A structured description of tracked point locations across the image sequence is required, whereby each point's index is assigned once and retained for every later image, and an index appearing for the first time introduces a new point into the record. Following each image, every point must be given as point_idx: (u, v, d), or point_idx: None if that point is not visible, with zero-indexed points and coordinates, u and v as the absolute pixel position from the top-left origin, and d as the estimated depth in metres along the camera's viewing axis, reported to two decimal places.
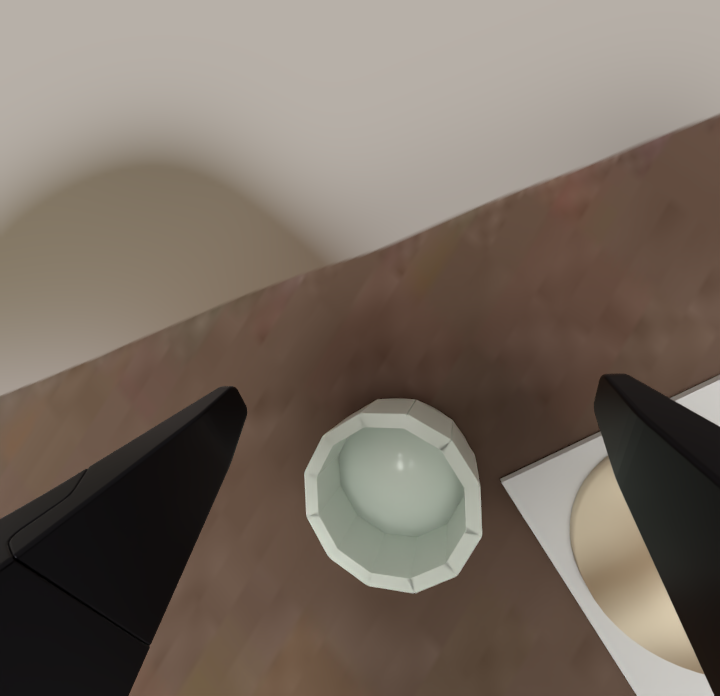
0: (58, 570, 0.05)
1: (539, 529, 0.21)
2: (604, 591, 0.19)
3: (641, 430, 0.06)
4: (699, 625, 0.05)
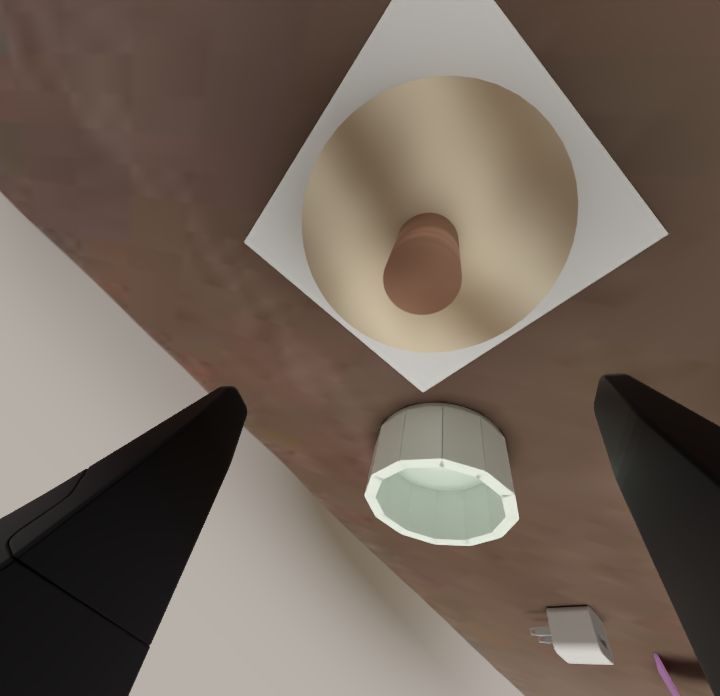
0: (58, 570, 0.05)
1: (457, 363, 0.21)
2: (499, 321, 0.18)
3: (641, 430, 0.06)
4: (699, 625, 0.05)
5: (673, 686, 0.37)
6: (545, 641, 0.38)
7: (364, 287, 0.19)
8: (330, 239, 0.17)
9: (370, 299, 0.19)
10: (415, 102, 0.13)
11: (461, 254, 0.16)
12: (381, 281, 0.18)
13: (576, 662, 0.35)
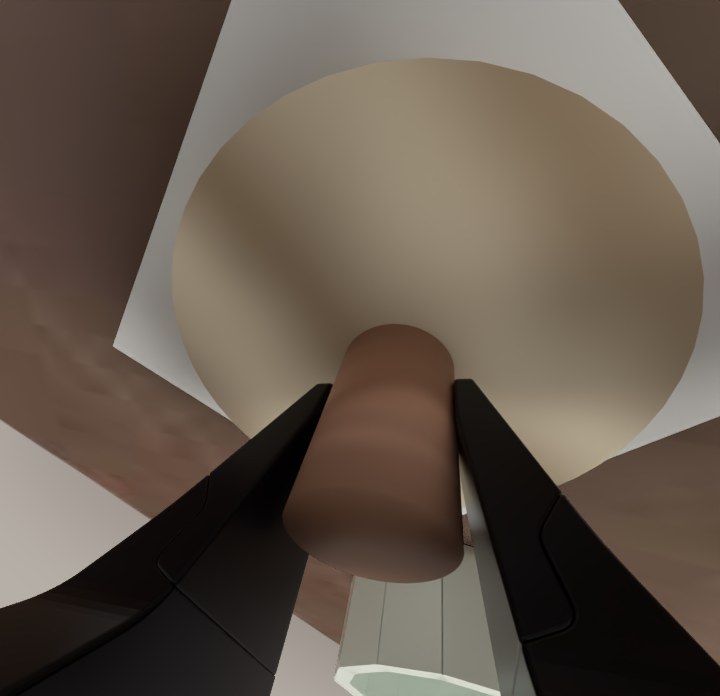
0: (208, 596, 0.05)
1: None
2: None
3: (457, 429, 0.06)
4: (484, 596, 0.06)
5: None
6: None
7: None
8: (231, 357, 0.10)
9: None
10: (344, 122, 0.06)
11: None
12: None
13: None
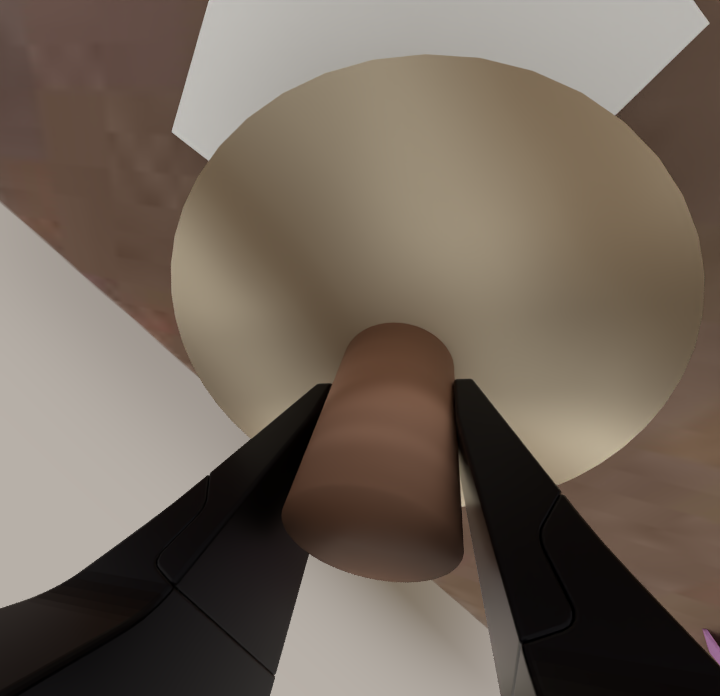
0: (208, 596, 0.05)
1: None
2: None
3: (457, 429, 0.06)
4: (484, 596, 0.06)
5: None
6: None
7: None
8: (231, 356, 0.10)
9: None
10: (344, 120, 0.06)
11: None
12: None
13: None
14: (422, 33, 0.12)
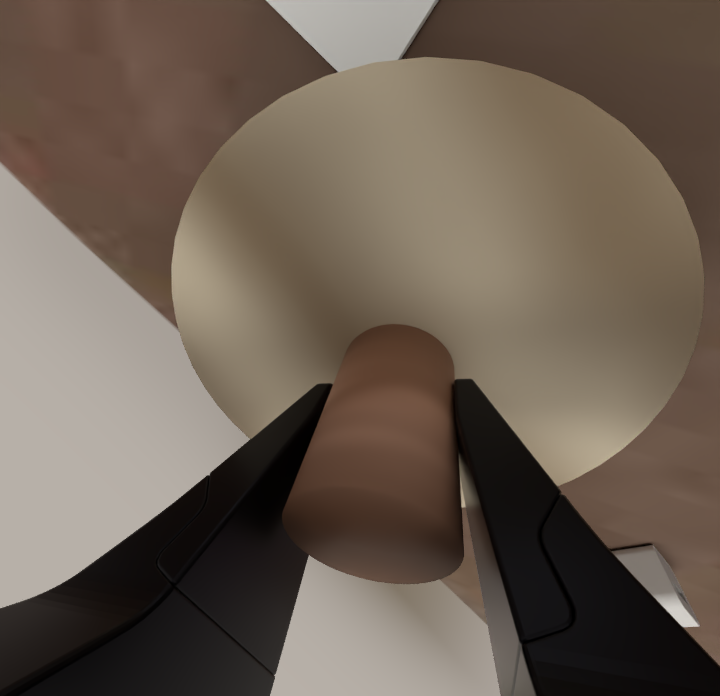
0: (208, 596, 0.05)
1: None
2: None
3: (457, 429, 0.06)
4: (484, 596, 0.06)
5: None
6: None
7: None
8: (231, 357, 0.10)
9: None
10: (344, 122, 0.06)
11: None
12: None
13: None
14: None
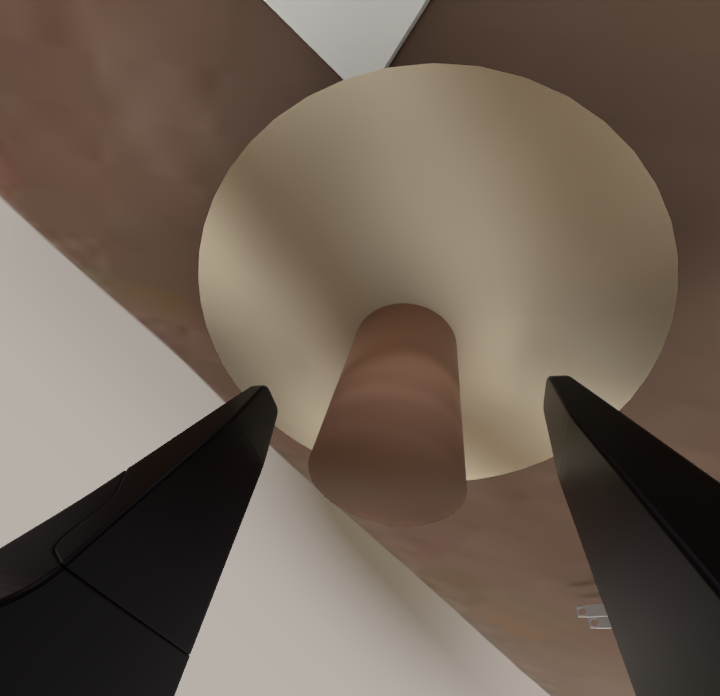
0: (105, 578, 0.05)
1: None
2: (527, 451, 0.11)
3: (572, 430, 0.06)
4: (618, 614, 0.05)
5: None
6: (600, 626, 0.26)
7: (314, 400, 0.12)
8: (250, 338, 0.11)
9: (324, 416, 0.12)
10: (360, 119, 0.07)
11: (462, 363, 0.10)
12: None
13: None
14: None
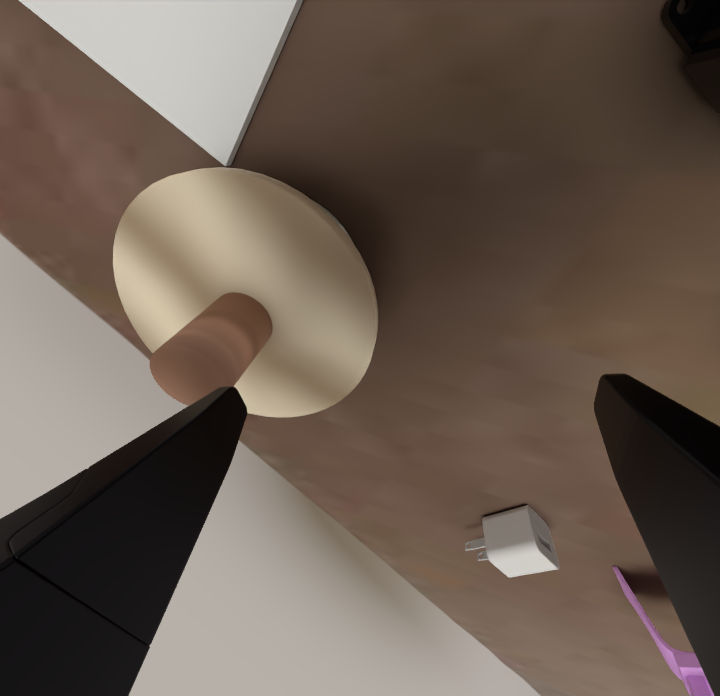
0: (59, 570, 0.05)
1: (245, 94, 0.16)
2: (336, 388, 0.18)
3: (641, 430, 0.06)
4: (699, 625, 0.05)
5: (635, 600, 0.30)
6: (485, 558, 0.32)
7: None
8: (153, 318, 0.17)
9: None
10: (182, 194, 0.13)
11: (277, 329, 0.16)
12: None
13: (516, 573, 0.29)
14: None
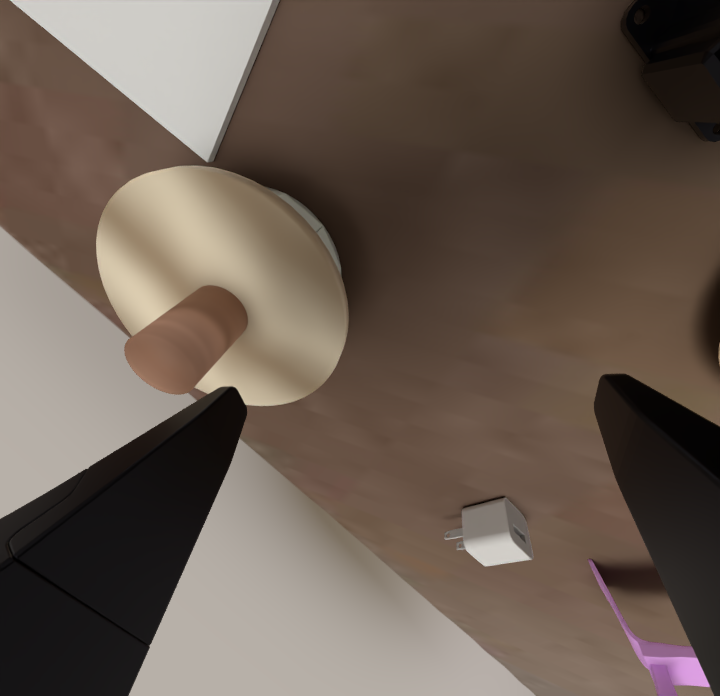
0: (58, 570, 0.05)
1: (224, 93, 0.16)
2: (310, 379, 0.18)
3: (641, 430, 0.06)
4: (699, 625, 0.05)
5: (607, 592, 0.31)
6: (463, 547, 0.33)
7: None
8: (136, 308, 0.18)
9: None
10: (158, 190, 0.14)
11: (252, 321, 0.17)
12: None
13: (492, 563, 0.30)
14: None
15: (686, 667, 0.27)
